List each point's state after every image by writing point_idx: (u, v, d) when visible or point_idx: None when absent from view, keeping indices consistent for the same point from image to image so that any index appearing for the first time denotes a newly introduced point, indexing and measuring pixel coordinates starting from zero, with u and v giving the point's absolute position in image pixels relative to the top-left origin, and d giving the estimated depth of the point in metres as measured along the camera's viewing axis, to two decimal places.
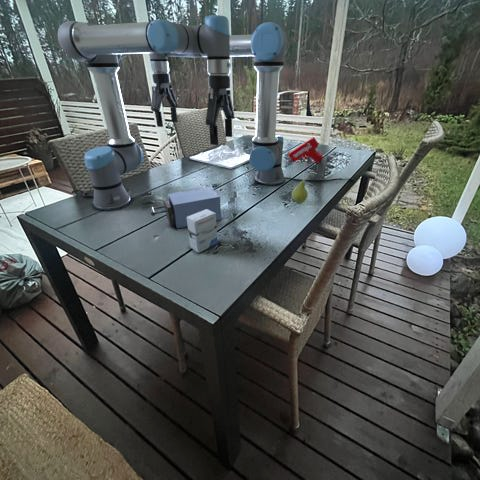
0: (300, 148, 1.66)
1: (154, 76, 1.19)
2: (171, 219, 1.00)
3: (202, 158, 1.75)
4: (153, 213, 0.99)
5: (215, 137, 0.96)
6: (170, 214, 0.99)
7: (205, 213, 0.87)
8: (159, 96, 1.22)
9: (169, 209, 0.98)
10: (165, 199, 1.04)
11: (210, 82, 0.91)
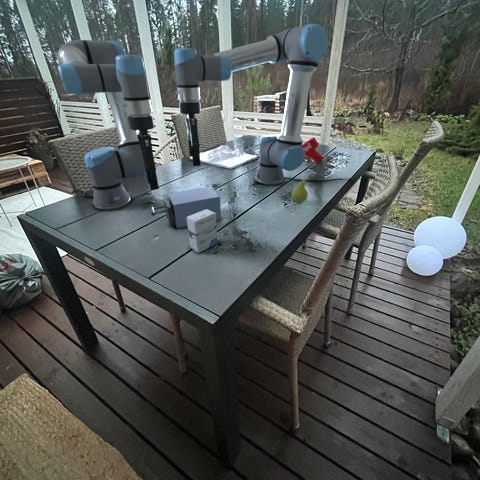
0: None
1: (187, 106, 0.94)
2: (171, 219, 1.00)
3: (202, 158, 1.75)
4: (153, 213, 0.99)
5: None
6: (170, 214, 0.99)
7: (205, 213, 0.87)
8: None
9: (169, 209, 0.98)
10: (165, 199, 1.04)
11: None
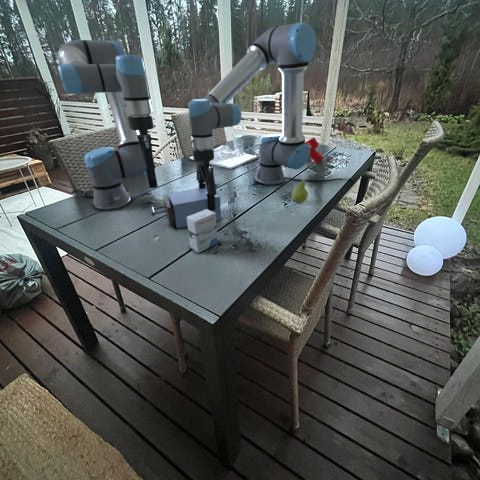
0: None
1: (203, 154, 0.94)
2: (171, 219, 1.00)
3: None
4: (153, 213, 0.99)
5: None
6: (170, 214, 0.99)
7: (205, 213, 0.87)
8: None
9: (169, 209, 0.98)
10: (165, 199, 1.04)
11: None
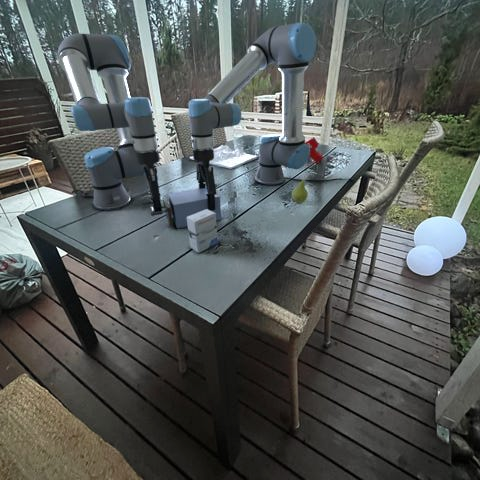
0: None
1: (203, 154, 0.94)
2: (171, 219, 1.00)
3: None
4: (153, 213, 0.99)
5: None
6: (170, 214, 0.99)
7: (205, 213, 0.87)
8: None
9: (169, 209, 0.98)
10: (165, 199, 1.04)
11: None
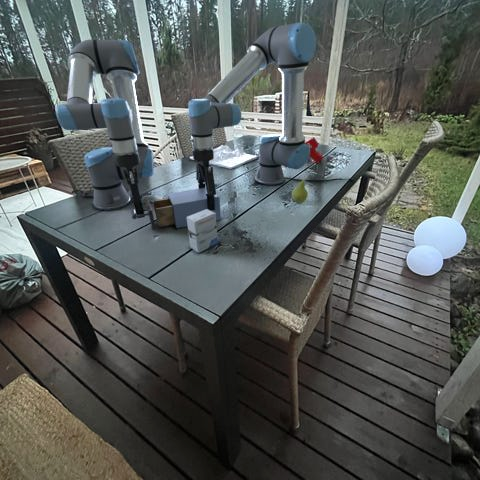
0: None
1: (202, 154, 0.94)
2: (153, 222, 0.98)
3: None
4: (134, 216, 0.97)
5: None
6: (152, 217, 0.97)
7: (205, 213, 0.87)
8: None
9: (150, 212, 0.96)
10: (147, 202, 1.02)
11: None
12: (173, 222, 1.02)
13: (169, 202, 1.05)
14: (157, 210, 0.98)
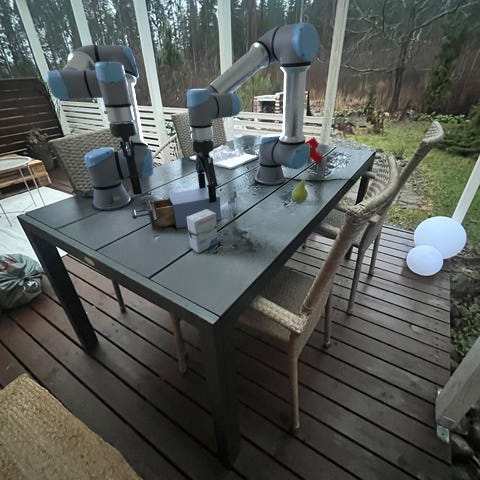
0: None
1: (202, 145, 0.93)
2: (153, 222, 0.98)
3: None
4: (134, 216, 0.97)
5: None
6: (152, 217, 0.97)
7: (205, 213, 0.87)
8: None
9: (151, 212, 0.96)
10: (148, 202, 1.02)
11: None
12: (173, 222, 1.02)
13: (169, 202, 1.06)
14: (157, 210, 0.98)
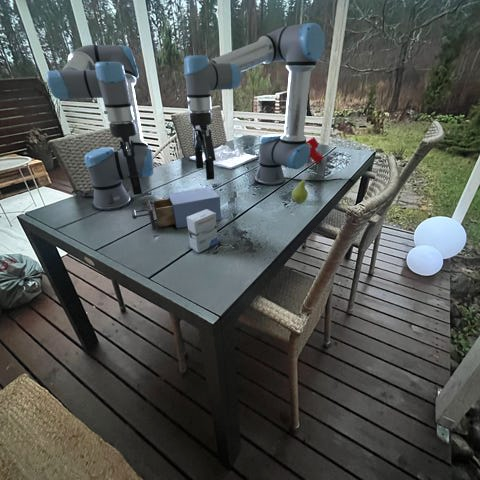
0: None
1: (200, 117, 0.88)
2: (153, 222, 0.98)
3: None
4: (134, 216, 0.97)
5: None
6: (152, 217, 0.97)
7: (205, 213, 0.87)
8: None
9: (151, 212, 0.96)
10: (148, 202, 1.02)
11: None
12: (173, 222, 1.02)
13: (169, 202, 1.06)
14: (157, 210, 0.98)
